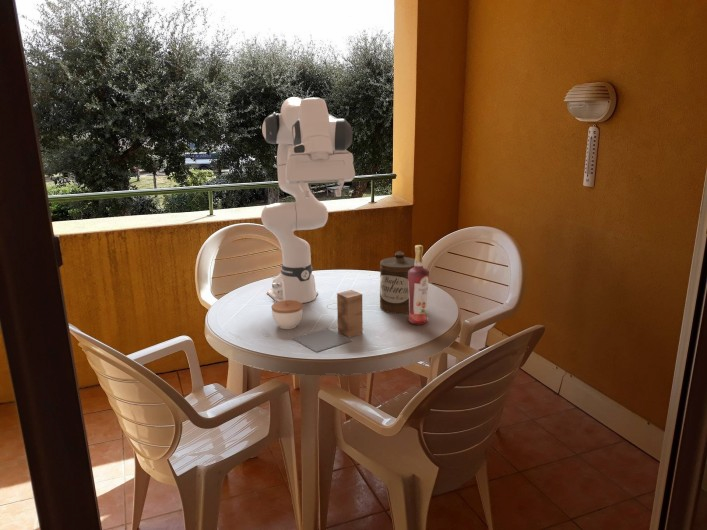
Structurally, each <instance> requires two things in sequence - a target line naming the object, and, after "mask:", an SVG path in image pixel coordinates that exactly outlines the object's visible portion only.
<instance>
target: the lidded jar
mask: <svg viewBox="0 0 707 530" xmlns="http://www.w3.org/2000/svg"><path fill="white" fill-rule="evenodd" d="M271 312H272V313H271V314H272V319H273V321H274V323H275V324H276V325H277V327H279V328H280V329H283V330H291V329H294V328H296V327H297V326H298V325H299V323H300V322H301V321H302V317H303V303H301V302H298V301H294V300H284V301H279V302H276V301H275V302H274V303H273V304H272V305H271Z"/></svg>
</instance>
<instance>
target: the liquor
mask: <svg viewBox="0 0 707 530" xmlns="http://www.w3.org/2000/svg"><path fill="white" fill-rule="evenodd" d="M414 252H415V258H414V259H415V265H414V268H411V269H410V270H409V271H408V290H409V313H408V318H407V321H409V323H411V324H412V325H415V326H421V324H422V325H424V324H425V323H426V322H427V321H428V318H427V307H428V306H427V304H428V294H429V293H428V292H429V280H430V271H429V270H428V269H427V268H425V267H424V263H423V261H424V260H423V252H424V246H423V245H421V244H416V245H415V246H414Z"/></svg>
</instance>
